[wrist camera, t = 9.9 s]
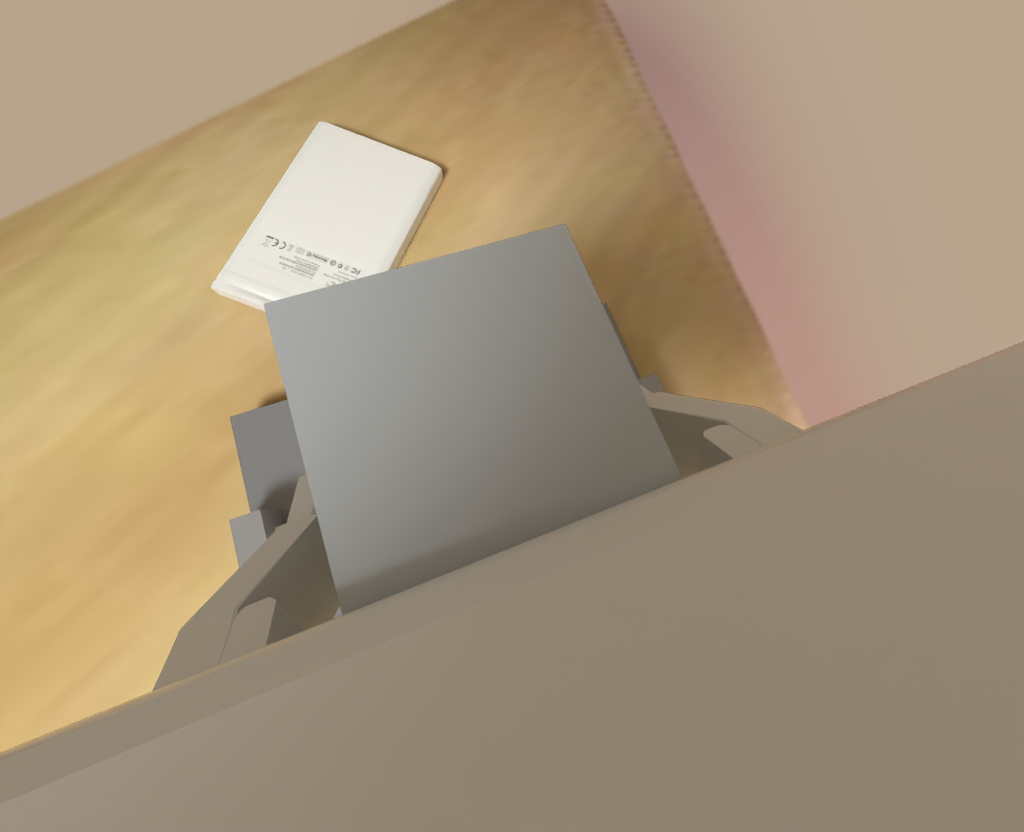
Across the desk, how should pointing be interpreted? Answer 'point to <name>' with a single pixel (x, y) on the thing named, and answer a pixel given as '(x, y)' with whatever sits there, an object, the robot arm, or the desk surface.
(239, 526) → the rail mount
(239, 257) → the external hard drive
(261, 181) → the desk surface
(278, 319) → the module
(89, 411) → the desk surface
